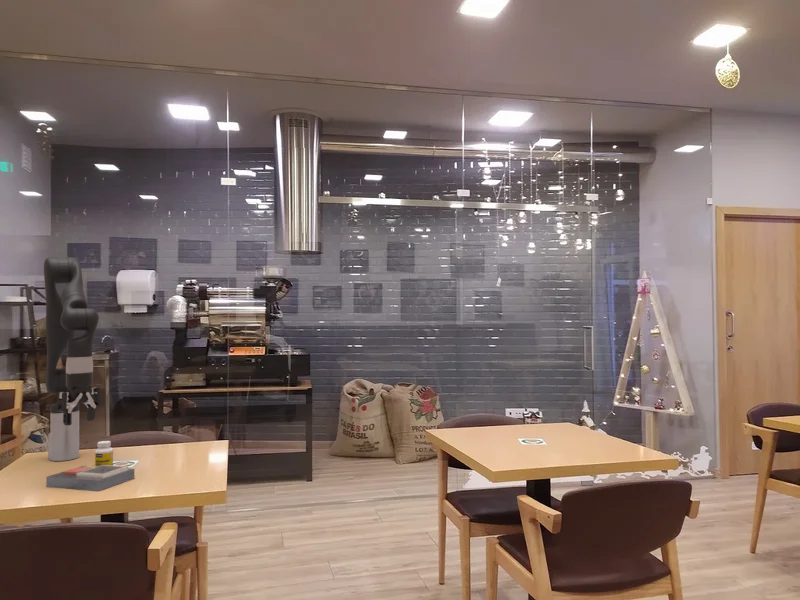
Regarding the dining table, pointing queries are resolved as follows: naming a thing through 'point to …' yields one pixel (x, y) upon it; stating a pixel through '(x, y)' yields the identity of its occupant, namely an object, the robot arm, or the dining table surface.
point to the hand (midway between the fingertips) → (79, 422)
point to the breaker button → (75, 470)
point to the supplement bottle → (104, 454)
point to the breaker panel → (92, 478)
